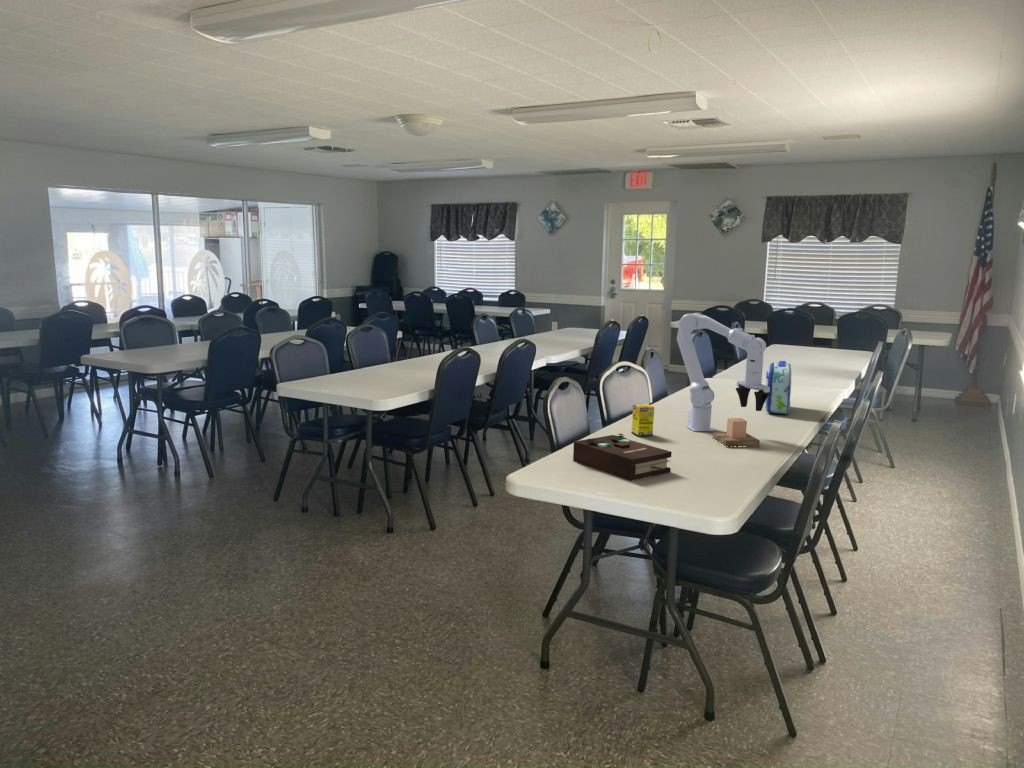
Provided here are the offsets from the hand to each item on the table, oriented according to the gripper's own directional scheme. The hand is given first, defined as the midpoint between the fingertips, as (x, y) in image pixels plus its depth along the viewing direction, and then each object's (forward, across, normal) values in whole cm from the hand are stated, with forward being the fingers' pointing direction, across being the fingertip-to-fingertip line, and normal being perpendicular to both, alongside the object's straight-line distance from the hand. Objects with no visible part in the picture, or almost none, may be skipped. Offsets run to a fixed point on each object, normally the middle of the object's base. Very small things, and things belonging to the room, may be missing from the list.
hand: (751, 408), depth 274 cm
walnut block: (+11, +6, -12) cm, 17 cm away
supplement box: (+11, -17, -36) cm, 41 cm away
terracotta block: (+8, +6, -12) cm, 15 cm away
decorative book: (+11, +16, -67) cm, 69 cm away
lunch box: (+11, -34, +47) cm, 59 cm away
